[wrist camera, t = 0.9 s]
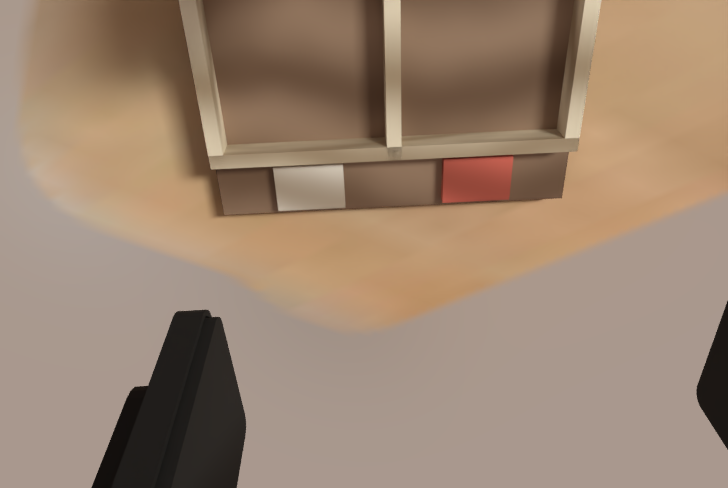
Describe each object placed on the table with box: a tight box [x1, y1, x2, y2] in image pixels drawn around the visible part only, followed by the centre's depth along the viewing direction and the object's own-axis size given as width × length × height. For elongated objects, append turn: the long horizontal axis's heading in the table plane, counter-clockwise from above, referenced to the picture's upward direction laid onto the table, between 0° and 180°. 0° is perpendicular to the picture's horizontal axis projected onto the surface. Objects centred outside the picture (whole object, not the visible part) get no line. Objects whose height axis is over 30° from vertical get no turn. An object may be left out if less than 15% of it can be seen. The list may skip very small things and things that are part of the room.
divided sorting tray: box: [179, 0, 601, 215], centre depth 32 cm, size 15×21×3 cm
